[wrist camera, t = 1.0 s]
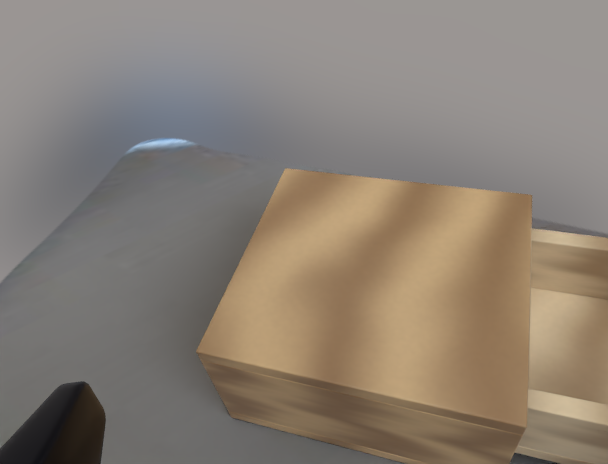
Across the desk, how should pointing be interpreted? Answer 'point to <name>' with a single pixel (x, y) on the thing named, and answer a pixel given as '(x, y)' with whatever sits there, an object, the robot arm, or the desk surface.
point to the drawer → (567, 349)
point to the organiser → (381, 319)
